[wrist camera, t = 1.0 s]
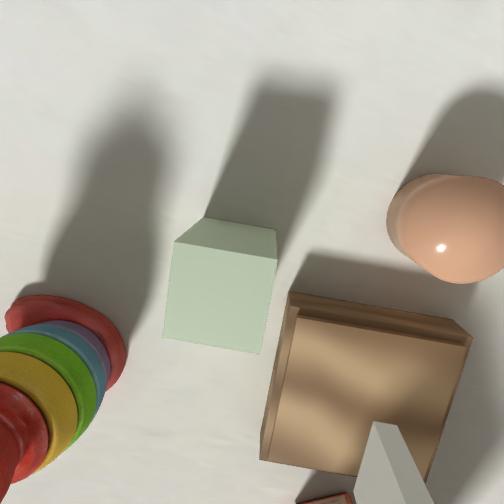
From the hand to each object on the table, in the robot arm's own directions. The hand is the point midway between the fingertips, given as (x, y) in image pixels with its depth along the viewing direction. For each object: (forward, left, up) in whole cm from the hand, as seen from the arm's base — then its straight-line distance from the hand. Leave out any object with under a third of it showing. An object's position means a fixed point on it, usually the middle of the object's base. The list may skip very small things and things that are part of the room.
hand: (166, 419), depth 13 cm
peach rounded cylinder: (-6, +15, -21) cm, 26 cm away
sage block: (0, 0, -21) cm, 21 cm away
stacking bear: (+11, -13, -21) cm, 27 cm away
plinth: (+9, +12, -21) cm, 26 cm away
